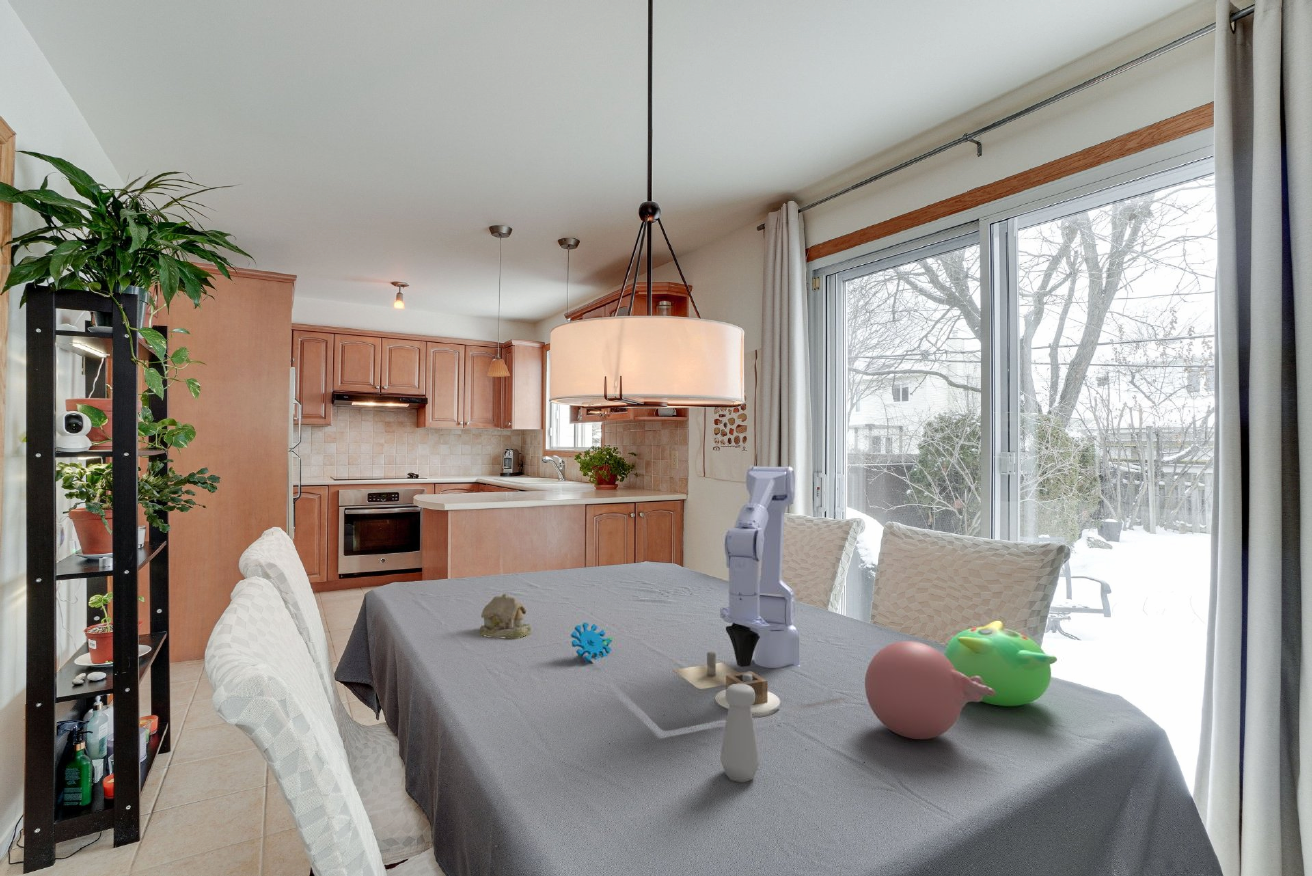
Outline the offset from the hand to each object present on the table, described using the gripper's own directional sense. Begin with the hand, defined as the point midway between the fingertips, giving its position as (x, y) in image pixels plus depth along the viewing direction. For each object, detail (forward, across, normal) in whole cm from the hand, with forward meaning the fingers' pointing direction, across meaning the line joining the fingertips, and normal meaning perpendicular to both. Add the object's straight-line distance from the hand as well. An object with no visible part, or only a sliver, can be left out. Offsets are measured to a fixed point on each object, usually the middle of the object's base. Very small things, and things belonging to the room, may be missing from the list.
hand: (743, 665), depth 122 cm
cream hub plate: (+7, 0, +1) cm, 7 cm away
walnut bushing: (+6, 0, +1) cm, 6 cm away
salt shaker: (+8, +22, -14) cm, 27 cm away
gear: (+8, -37, -17) cm, 42 cm away
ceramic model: (+8, -66, -31) cm, 73 cm away
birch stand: (+7, -14, +1) cm, 16 cm away
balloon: (+8, +24, +21) cm, 33 cm away
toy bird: (+8, +18, +45) cm, 49 cm away
